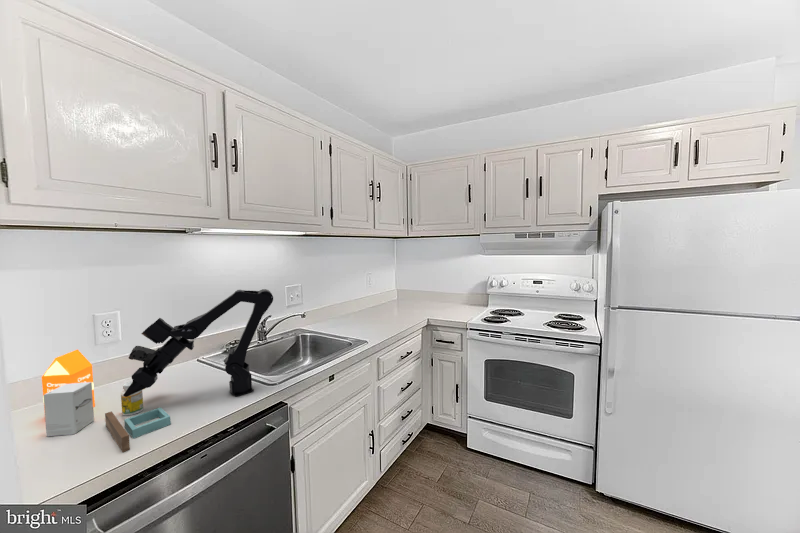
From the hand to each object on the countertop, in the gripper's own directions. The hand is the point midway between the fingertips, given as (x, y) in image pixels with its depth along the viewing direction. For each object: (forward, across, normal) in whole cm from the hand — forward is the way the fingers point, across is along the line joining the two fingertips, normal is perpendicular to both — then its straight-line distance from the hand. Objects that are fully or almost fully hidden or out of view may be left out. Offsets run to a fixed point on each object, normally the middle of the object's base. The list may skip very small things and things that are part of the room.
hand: (129, 390), depth 103 cm
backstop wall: (+5, +16, +6) cm, 17 cm away
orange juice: (+18, -8, -6) cm, 20 cm away
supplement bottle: (+5, 0, +6) cm, 8 cm away
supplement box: (+15, +4, -4) cm, 16 cm away
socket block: (0, +12, +10) cm, 16 cm away
